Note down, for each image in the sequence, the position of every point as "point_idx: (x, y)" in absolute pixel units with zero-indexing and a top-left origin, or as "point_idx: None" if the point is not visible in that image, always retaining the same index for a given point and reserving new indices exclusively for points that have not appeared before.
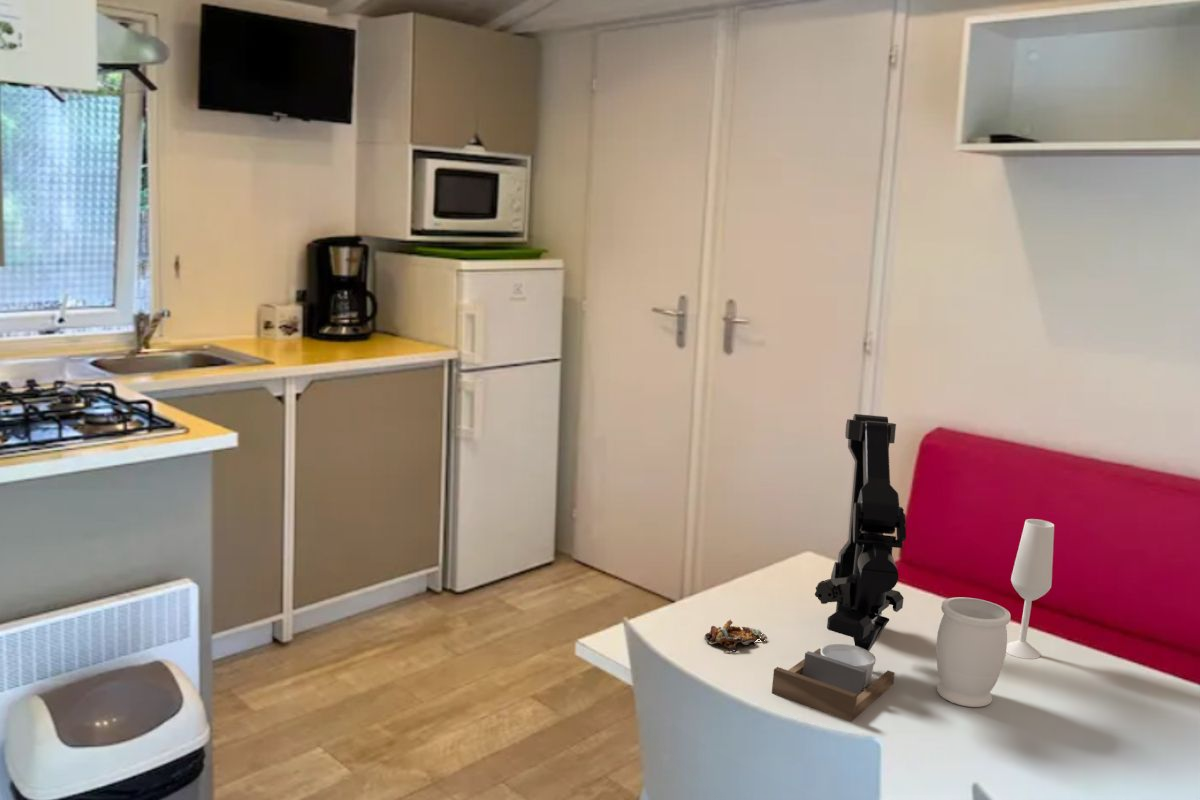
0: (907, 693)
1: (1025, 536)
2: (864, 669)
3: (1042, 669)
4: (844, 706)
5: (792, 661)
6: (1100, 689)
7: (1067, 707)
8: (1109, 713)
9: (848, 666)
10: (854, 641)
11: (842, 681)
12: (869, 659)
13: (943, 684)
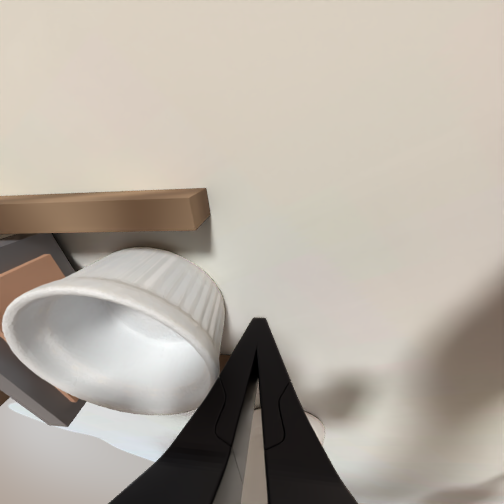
0: None
1: None
2: (62, 424)
3: (462, 464)
4: None
5: (94, 114)
6: (418, 485)
7: (338, 471)
8: (349, 484)
9: (24, 402)
10: (220, 373)
11: None
12: (192, 385)
13: (253, 438)
